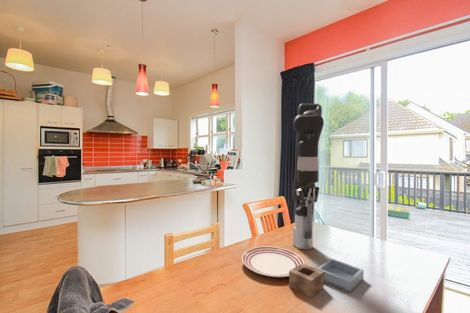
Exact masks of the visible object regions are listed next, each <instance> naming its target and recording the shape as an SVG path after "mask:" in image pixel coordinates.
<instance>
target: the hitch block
mask: <svg viewBox="0 0 470 313" xmlns="http://www.w3.org/2000/svg"><path fill="white" fill-rule="evenodd" d="M324 283H325V282H324V272H323V271H320V270H318V269H317V268H315V267H313V266H310V265H308V264H306V263H305V264H303V263H302V264H300V265H298V266H297V267H295V268H293V269H292V270H290V271H289V276H288V284H289V285H288V287H289V288H291V289H293V290H294V291H296V292H299V293H301V294H302V295H305V296H306V297H309V299H311V298H313V297H315V295H316V294H318V293H319V292H321V290H323V289H324V285H325V284H324Z"/></svg>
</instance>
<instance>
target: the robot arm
mask: <svg viewBox="0 0 470 313" xmlns="http://www.w3.org/2000/svg"><path fill="white" fill-rule="evenodd" d="M322 111H323V108H322V106H321V104H319V103H300V104H299V106H298V110H297V116H295V118H294V120H293V124H292V126H293V127H292V128H293V131H294V132H295V133H297V137H296V138H297V139H296V146H295V147H296V148H295V159H294V160H295V162H294V176H293V182H292V183H293V184H292V190H291V191H292V192H291V193H292V194H291V195H292V197H291V198H292V200H293V201H294V202H296V205H298V207H296V208H295V210H294V227H293V228H292V234H293V235H292V236H293V237H292V245H293V246H294V247H295V248H297V249H300V250H307V251H308V250H311V249H313V240H314V238H313V236H314V232H313V231H314V207H315V206H314V205H315V203H317V202H318V197H319V191H320V186H316V183H318V182H319V169H320V168H319V144H320V143H319V142H320V138H321V134H322V131H323V128H324V123H325V122H324V118H323V116H322V114H323V112H322ZM309 135H312V136H311V137H309ZM310 196H312V197H315V200H314V201H312V238H311V239H305V238H303V237H302V216H303V217H307V209H308V207H307V205H308V201H307V200H309V198H310ZM304 197H306V198H304ZM304 200H305V202H304Z"/></svg>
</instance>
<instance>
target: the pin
mask: <svg viewBox="0 0 470 313" xmlns="http://www.w3.org/2000/svg"><path fill="white" fill-rule="evenodd" d="M304 198H306V197H304ZM314 200H315V197H312V196H310V198H309V200H307V201H308V205H307V207H308V209H307V217H303V216H302V237H303V238H305V239H311V238H312V201H314ZM304 202H305V200H304Z"/></svg>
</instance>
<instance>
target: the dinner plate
mask: <svg viewBox="0 0 470 313" xmlns="http://www.w3.org/2000/svg"><path fill="white" fill-rule="evenodd" d="M241 261H242V264H243V265H244V266H245V267H246V268H247V269H249V270H251V271H252V272H254V273H256V274H259V275H263V276H265V277H266V276H267V277H272V278H286V277H288V278H289V271H290V270H292V269H293V268H295V267H297V266H298V265H300V264H302V263H303V264H305V265H306V263H305V261H304V259H303V258H302V257H301V256H300V255H299V254H297V253H295V252H294V251H292V250H289V249H286V248H283V247H279V246H270V245H267V246H266V245H265V246H263V245H261V246H256V247H252V248H250V249H247V250H246V251H244V253H243V254H242V256H241Z"/></svg>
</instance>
